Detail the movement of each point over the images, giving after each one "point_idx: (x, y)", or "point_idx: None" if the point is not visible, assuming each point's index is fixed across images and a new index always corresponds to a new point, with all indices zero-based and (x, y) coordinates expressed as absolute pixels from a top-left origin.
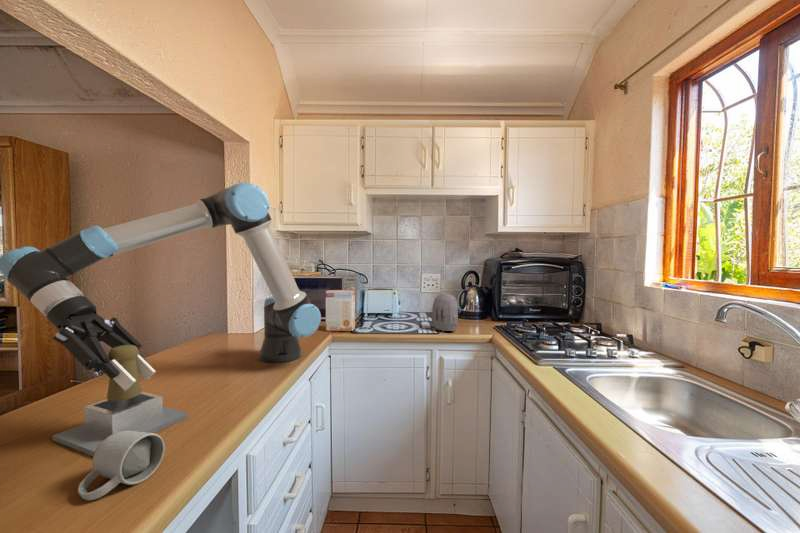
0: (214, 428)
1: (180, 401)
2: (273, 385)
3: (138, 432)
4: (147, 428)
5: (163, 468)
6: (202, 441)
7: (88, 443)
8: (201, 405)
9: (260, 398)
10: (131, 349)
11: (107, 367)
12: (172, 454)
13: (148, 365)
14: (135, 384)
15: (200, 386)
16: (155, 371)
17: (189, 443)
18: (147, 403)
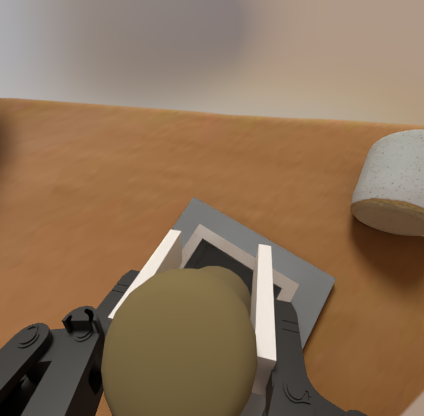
0: (243, 143)
1: (117, 246)
2: (91, 111)
3: (422, 155)
4: (248, 239)
5: (358, 162)
6: (284, 143)
7: (300, 321)
8: (148, 198)
9: (143, 115)
10: (204, 285)
11: (302, 354)
12: (320, 167)
13: (163, 249)
14: (218, 271)
15: (46, 239)
16: (172, 230)
17: (289, 158)
18: (229, 242)
